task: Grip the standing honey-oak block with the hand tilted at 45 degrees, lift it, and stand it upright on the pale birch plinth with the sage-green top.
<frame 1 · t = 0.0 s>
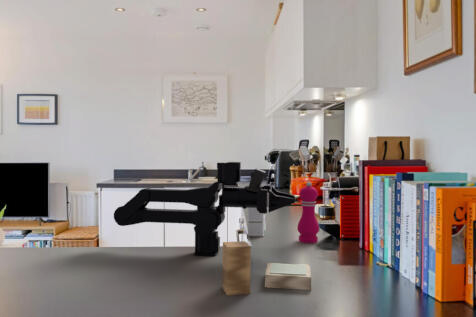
hand: (294, 198, 119), 17 cm above the worktop, tool horizontal, fingers open, 9 cm apart
oak block: (235, 290, 90), on the worktop
plinth: (288, 281, 96), on the worktop
syrup box: (256, 235, 151), on the worktop
pepper mill: (308, 242, 140), on the worktop
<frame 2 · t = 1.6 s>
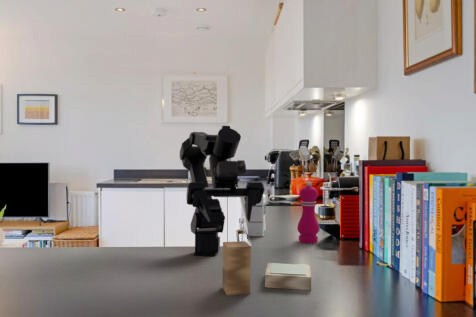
hand: (229, 220, 98), 14 cm above the worktop, tool tilted 45°, fingers open, 9 cm apart
nothing on the worktop moved.
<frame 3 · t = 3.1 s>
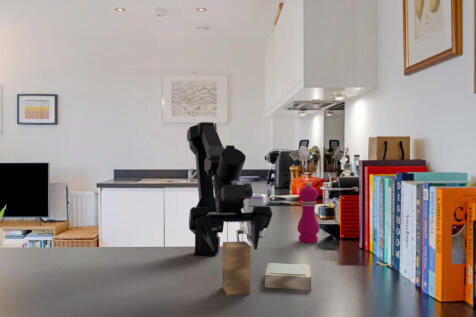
hand: (235, 249, 91), 9 cm above the worktop, tool tilted 45°, fingers open, 9 cm apart
nothing on the worktop moved.
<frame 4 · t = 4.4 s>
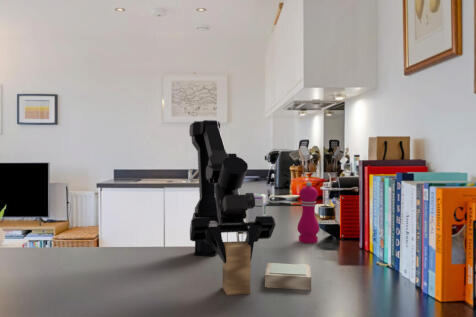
hand: (237, 261, 89), 7 cm above the worktop, tool tilted 45°, fingers closed on oak block, 5 cm apart
oak block: (236, 290, 90), on the worktop, touching gripper
everything else where it was.
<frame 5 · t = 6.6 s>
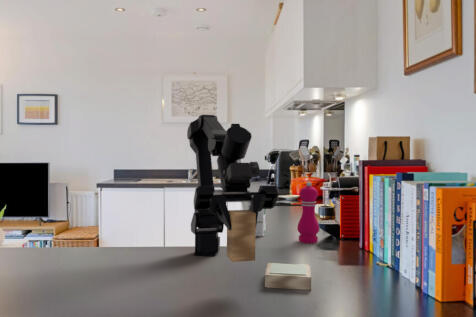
hand: (242, 228, 89), 13 cm above the worktop, tool tilted 45°, fingers closed on oak block, 5 cm apart
oak block: (240, 258, 90), point 7 cm above the worktop, touching gripper
everything else where it was.
when the fingers open (11 cm above the worktop, at t = 8.6 s): oak block drops 1 cm, resting on plinth.
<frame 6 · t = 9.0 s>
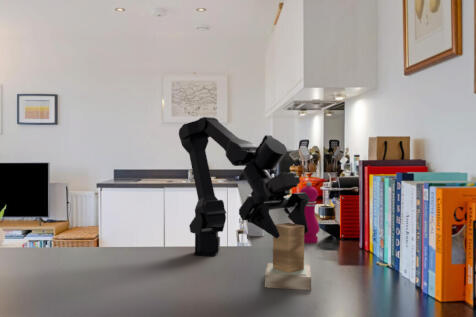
hand: (293, 234, 95), 11 cm above the worktop, tool tilted 45°, fingers open, 9 cm apart
oak block: (288, 268, 96), point 3 cm above the worktop, touching plinth
everything else where it was.
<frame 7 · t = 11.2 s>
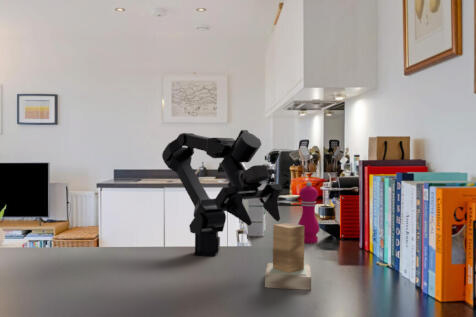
hand: (264, 222, 103), 13 cm above the worktop, tool tilted 45°, fingers open, 9 cm apart
nothing on the worktop moved.
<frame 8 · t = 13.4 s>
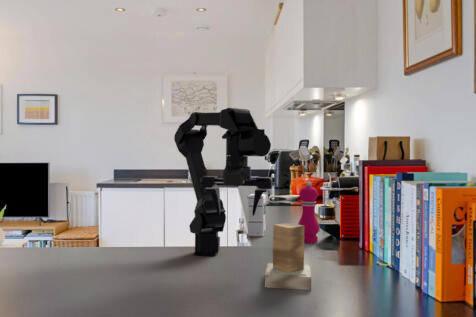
hand: (236, 215, 111), 13 cm above the worktop, tool pointing down, fingers open, 9 cm apart
nothing on the worktop moved.
at the end: oak block 0.0 cm off-centre on the plinth, point 3.0 cm above the plinth's base; oak block tilted 0°; the gripper is holding nothing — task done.
